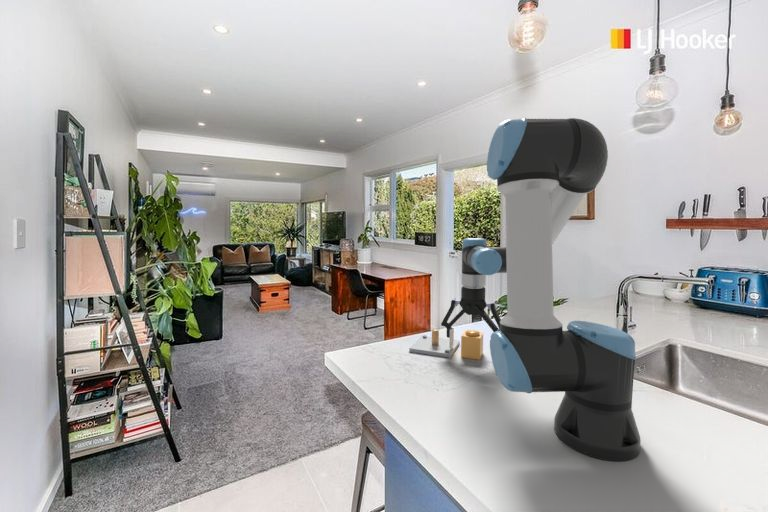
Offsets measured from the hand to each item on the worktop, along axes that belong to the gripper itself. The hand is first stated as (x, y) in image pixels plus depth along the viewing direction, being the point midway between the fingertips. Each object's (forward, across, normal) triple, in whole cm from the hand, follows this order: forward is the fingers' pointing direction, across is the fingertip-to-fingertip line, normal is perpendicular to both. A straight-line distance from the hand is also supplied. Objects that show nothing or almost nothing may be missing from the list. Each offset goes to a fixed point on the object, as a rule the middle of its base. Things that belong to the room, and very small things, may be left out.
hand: (471, 350), depth 118 cm
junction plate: (+2, +13, -2) cm, 13 cm away
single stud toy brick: (+2, 0, 0) cm, 2 cm away
